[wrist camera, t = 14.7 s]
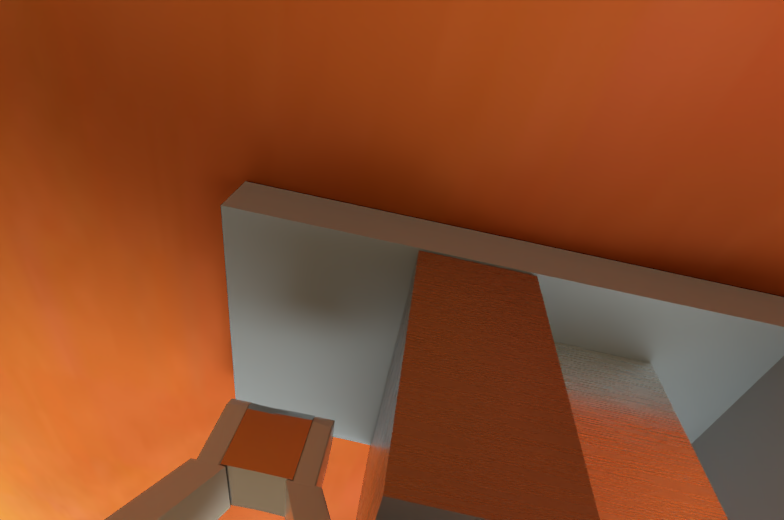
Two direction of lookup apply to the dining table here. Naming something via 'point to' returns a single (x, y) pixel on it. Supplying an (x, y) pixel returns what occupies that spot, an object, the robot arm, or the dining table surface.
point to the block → (633, 441)
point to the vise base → (563, 307)
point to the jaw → (475, 406)
